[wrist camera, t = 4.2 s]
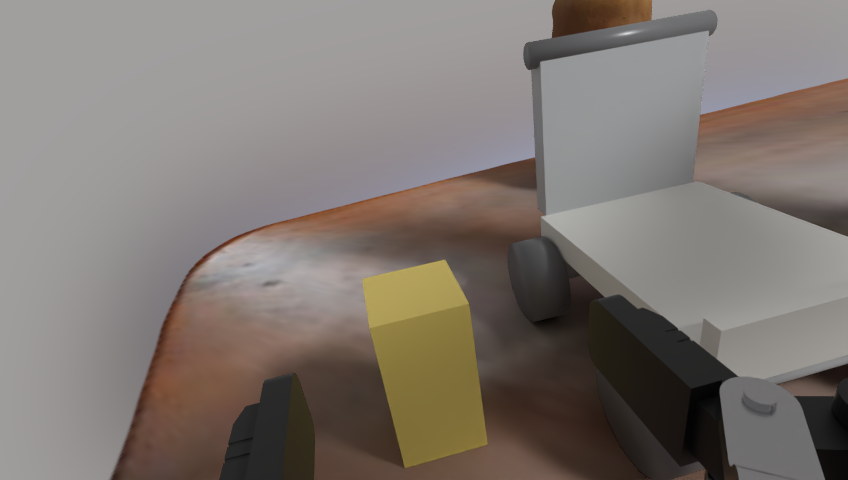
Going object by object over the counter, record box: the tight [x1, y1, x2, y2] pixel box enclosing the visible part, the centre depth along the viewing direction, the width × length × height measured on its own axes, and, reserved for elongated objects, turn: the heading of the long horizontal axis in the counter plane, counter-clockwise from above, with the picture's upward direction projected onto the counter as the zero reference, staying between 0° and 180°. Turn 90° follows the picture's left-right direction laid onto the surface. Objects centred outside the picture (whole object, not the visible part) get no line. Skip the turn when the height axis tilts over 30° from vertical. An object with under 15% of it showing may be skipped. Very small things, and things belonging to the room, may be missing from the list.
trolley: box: [508, 10, 848, 480], centre depth 28 cm, size 21×19×20 cm
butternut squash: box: [552, 0, 652, 38], centre depth 57 cm, size 14×13×25 cm
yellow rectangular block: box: [362, 260, 488, 468], centre depth 26 cm, size 5×5×10 cm
